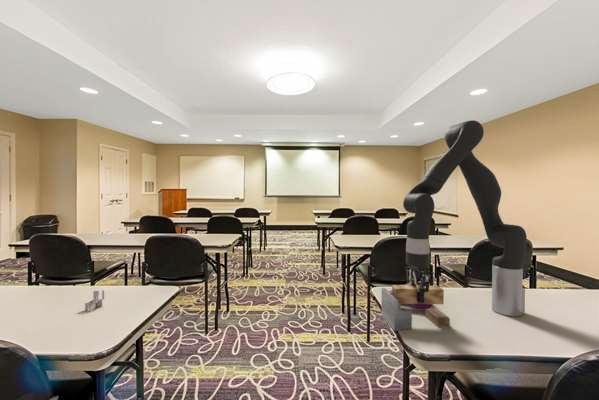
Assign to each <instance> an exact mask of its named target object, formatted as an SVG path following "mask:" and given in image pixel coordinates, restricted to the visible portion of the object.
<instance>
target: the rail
mask: <svg viewBox="0 0 599 400" xmlns="http://www.w3.org/2000/svg"><path fill="white" fill-rule="evenodd" d="M419 287H420V286H419ZM425 288H426V286H425ZM391 290H392V295H393V296H394V297H395V298H396V299H397V300H398V303H401V305H402V304H405V305H406V304H409V305H410V304H411V305H413V304H433V305H444V296H445V295H444V294H445V293H444V289H443V288H442V287H441V286H439V285H430V286H429V291H428V292H424V303H418V302H417V286H416V285H405V284H399V285H398V284H392V287H391Z"/></svg>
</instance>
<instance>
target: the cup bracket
mask: <svg viewBox="0 0 599 400" xmlns="http://www.w3.org/2000/svg"><path fill="white" fill-rule="evenodd" d="M389 291H390V290H388V289H386V288H385V287H384V288H383V287H382V288H381V316H382V318H383V319H384V320H385V321H386V323H387V324H388V326H390V327H391V329H392V330H393V331H394V332H399V331H400V330H412V328H413V327H412V325H413V323H412V321H413V319H412V318H413V317H412V316H413V312H412V309H401V307H402V306H401V305H402V303H398V300H397V299H396V298H395V297H394V296H393V295H392V294H391V293H390V292H389Z"/></svg>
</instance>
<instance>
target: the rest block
mask: <svg viewBox="0 0 599 400" xmlns="http://www.w3.org/2000/svg"><path fill="white" fill-rule="evenodd" d="M425 317H426V318H427V319H428V320H429V321H430V322H431V323H432V324H434V325H435V327H437V328H450V327H451V325H450V317H449V316H448V315H447V314H445V313H444V312H442V311H441V310H439V308H435V307H434V308H432V307H431V308H429V309H426V310H425Z"/></svg>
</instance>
